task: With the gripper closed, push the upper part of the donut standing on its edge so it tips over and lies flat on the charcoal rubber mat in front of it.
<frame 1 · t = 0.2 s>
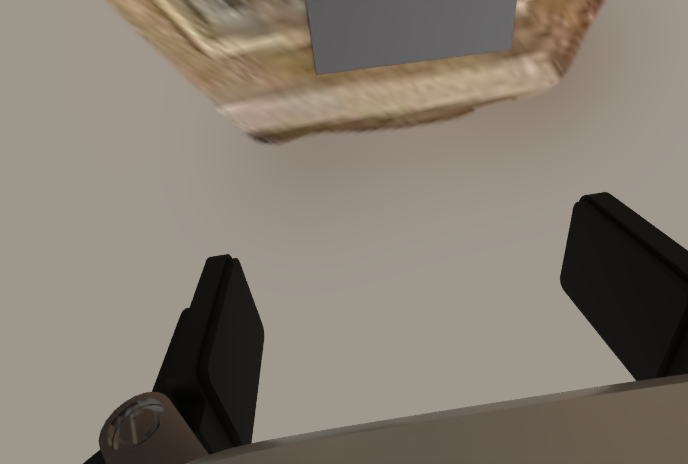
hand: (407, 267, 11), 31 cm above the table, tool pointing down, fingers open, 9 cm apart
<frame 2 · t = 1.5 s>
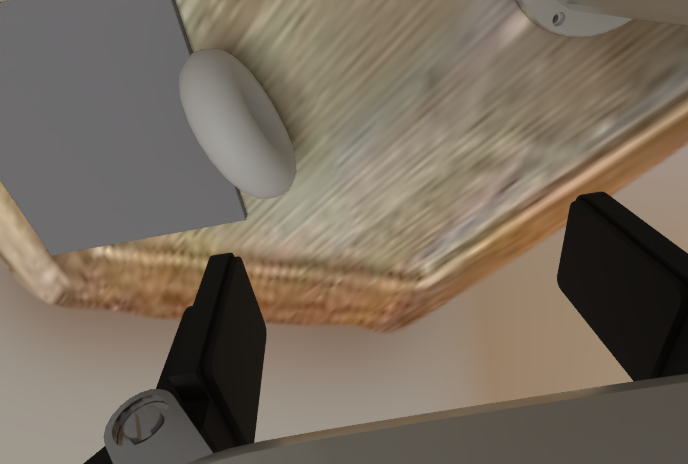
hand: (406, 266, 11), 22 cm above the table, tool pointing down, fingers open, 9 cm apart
donut: (252, 105, 30), on the table
mat: (101, 133, 30), on the table
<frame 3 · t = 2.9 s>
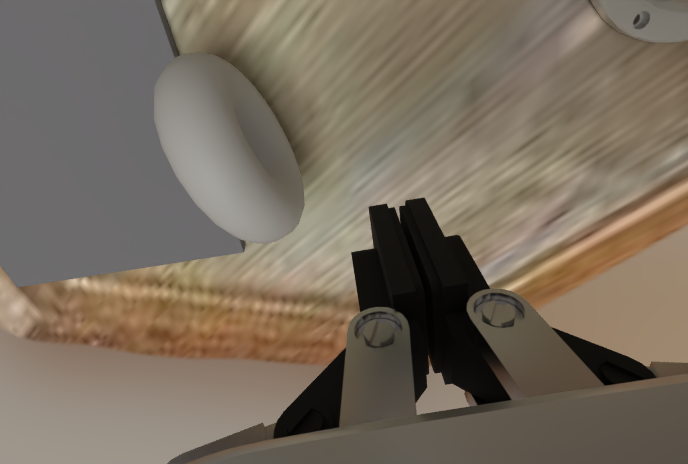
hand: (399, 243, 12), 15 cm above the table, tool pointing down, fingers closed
donut: (252, 119, 25), on the table
mat: (71, 150, 25), on the table
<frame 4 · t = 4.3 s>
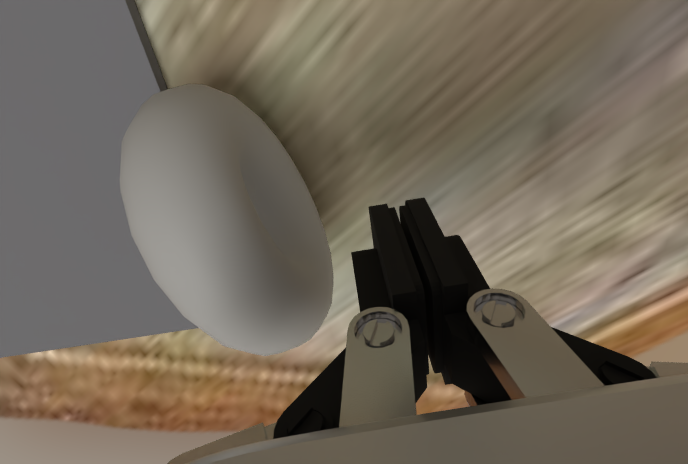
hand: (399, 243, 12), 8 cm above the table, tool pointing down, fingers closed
donut: (262, 161, 19), on the table
mat: (24, 201, 19), on the table
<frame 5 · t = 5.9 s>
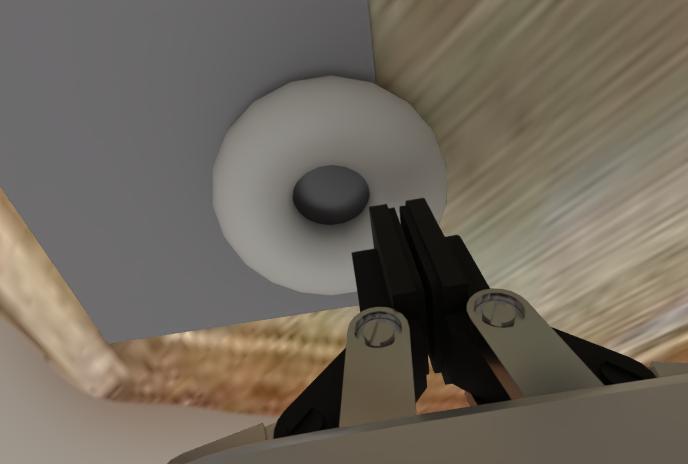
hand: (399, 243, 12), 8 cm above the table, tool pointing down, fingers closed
donut: (449, 161, 17), point 2 cm above the table, touching mat
mat: (202, 175, 19), on the table
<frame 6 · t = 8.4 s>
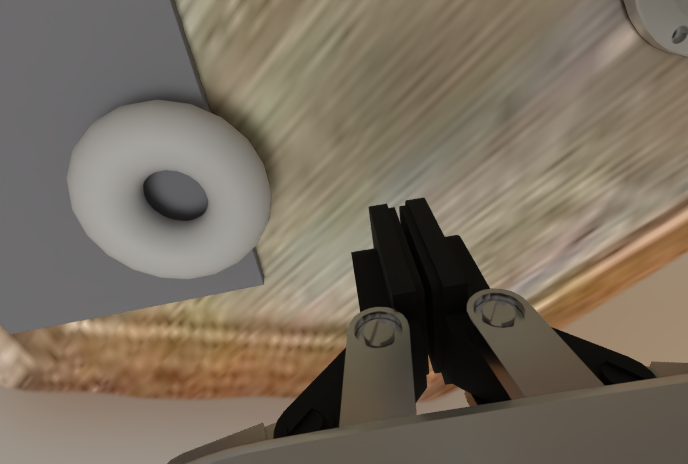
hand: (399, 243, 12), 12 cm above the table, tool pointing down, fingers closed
donut: (268, 164, 21), point 2 cm above the table, touching mat
mat: (75, 182, 23), on the table
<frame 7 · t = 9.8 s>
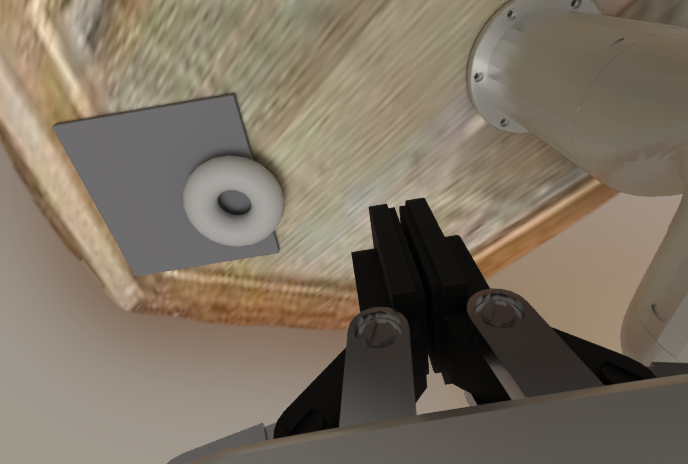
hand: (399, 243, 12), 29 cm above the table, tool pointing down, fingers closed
donut: (282, 187, 40), point 2 cm above the table, touching mat
mat: (180, 193, 43), on the table
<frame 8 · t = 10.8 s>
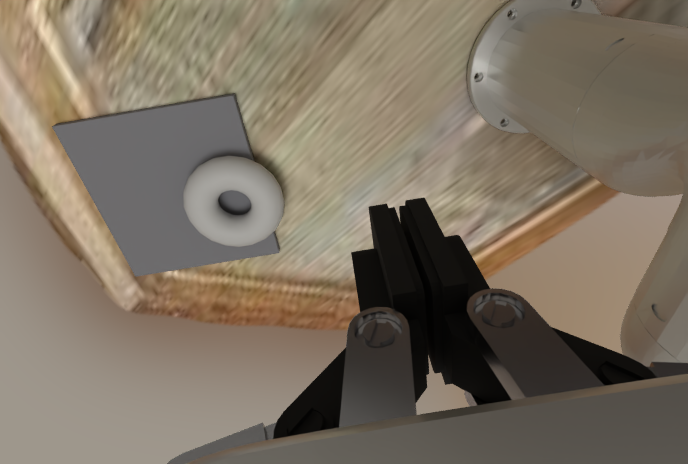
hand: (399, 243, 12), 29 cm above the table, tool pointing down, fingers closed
donut: (283, 187, 40), point 2 cm above the table, touching mat
mat: (180, 193, 43), on the table
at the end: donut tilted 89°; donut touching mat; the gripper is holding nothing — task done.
